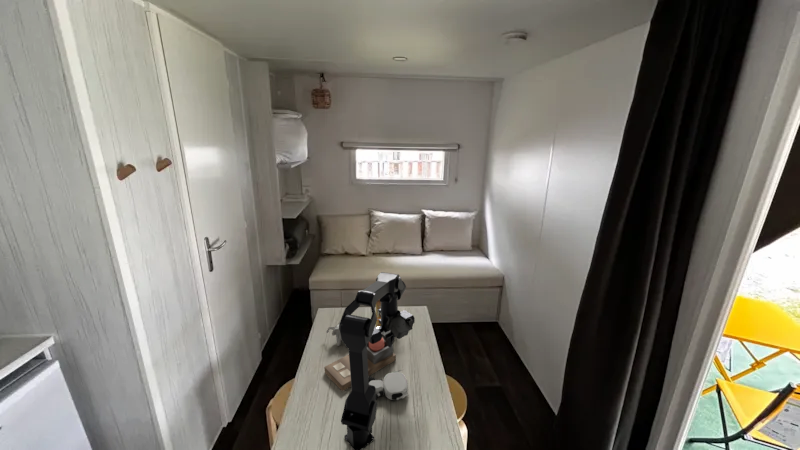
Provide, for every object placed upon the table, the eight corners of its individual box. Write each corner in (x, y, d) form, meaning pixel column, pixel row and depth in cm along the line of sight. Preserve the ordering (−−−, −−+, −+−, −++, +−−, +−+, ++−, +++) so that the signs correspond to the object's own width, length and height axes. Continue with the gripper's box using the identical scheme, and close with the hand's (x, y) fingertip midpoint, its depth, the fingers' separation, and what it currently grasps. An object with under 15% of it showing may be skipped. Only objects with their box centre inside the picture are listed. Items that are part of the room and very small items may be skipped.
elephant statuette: (354, 349, 136) (355, 332, 134) (324, 349, 135) (324, 332, 133) (355, 335, 145) (355, 320, 143) (327, 335, 144) (327, 320, 142)
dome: (375, 357, 125) (374, 343, 124) (365, 349, 130) (365, 336, 128) (387, 350, 129) (387, 337, 127) (377, 343, 133) (377, 330, 132)
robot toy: (365, 411, 108) (411, 404, 109) (363, 400, 106) (410, 392, 108) (363, 383, 119) (405, 377, 121) (362, 373, 118) (404, 366, 120)
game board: (342, 391, 114) (341, 375, 113) (324, 372, 123) (323, 357, 121) (395, 360, 130) (395, 345, 128) (376, 345, 138) (376, 331, 136)
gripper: (381, 329, 101) (382, 371, 106) (425, 308, 113) (424, 346, 118) (360, 313, 109) (362, 353, 114) (404, 295, 121) (404, 331, 126)
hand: (389, 346), depth 118 cm, fingers closed
